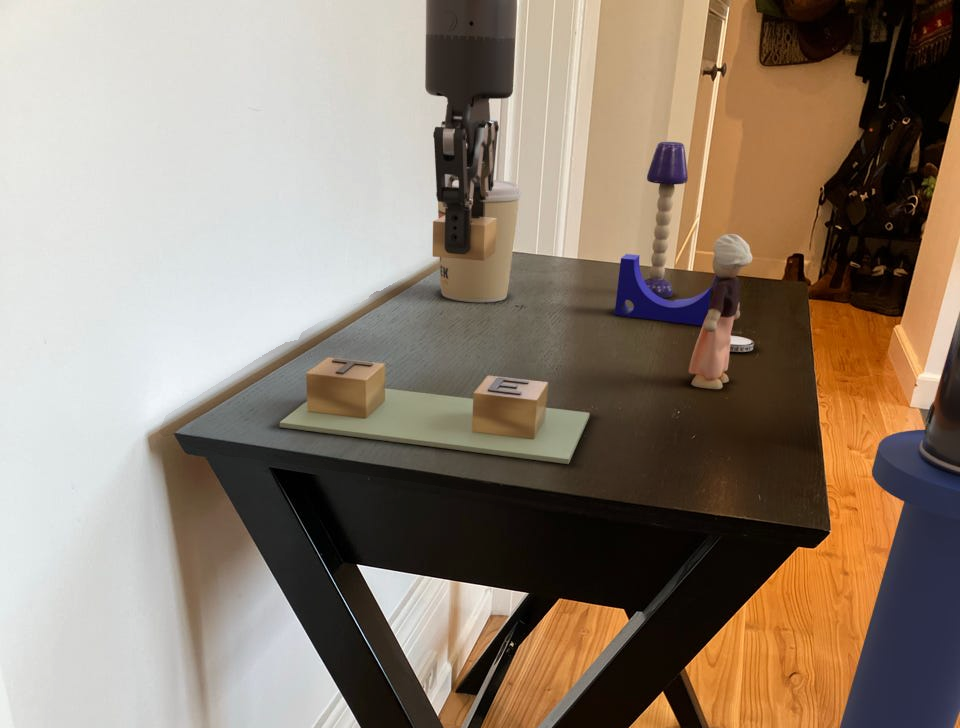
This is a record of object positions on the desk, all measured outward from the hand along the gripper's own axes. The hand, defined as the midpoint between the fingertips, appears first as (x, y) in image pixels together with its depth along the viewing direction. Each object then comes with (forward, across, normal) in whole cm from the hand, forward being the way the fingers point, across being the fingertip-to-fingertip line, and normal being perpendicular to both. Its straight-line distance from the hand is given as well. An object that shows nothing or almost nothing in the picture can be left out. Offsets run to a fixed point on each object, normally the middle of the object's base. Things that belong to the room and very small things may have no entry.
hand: (464, 247), depth 92 cm
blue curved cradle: (+10, +22, -19) cm, 31 cm away
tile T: (+9, -22, +4) cm, 24 cm away
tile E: (+9, -22, -9) cm, 25 cm away
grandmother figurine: (+10, -3, -24) cm, 26 cm away
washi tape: (+10, +12, -26) cm, 30 cm away
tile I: (+1, 0, 0) cm, 1 cm away
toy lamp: (+10, +33, -16) cm, 38 cm away
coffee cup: (+9, +23, +4) cm, 26 cm away
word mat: (+9, -22, -4) cm, 24 cm away
